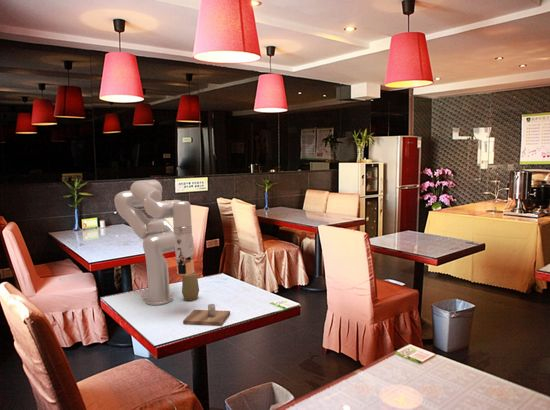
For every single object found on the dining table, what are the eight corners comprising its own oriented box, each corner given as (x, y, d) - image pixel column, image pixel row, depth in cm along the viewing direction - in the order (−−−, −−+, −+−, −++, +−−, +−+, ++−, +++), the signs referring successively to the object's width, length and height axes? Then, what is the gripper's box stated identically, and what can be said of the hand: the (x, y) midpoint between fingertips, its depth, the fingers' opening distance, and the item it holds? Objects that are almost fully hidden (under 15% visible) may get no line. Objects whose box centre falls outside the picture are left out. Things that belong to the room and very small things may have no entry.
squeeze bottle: (201, 296, 199) (199, 259, 197) (196, 301, 191) (195, 263, 189) (185, 295, 200) (183, 259, 198) (179, 301, 192) (177, 263, 190)
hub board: (183, 324, 166) (182, 309, 165) (194, 312, 178) (193, 299, 177) (221, 325, 163) (221, 311, 162) (230, 314, 175) (229, 300, 174)
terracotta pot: (175, 275, 174) (174, 262, 174) (181, 270, 181) (180, 258, 180) (190, 275, 173) (189, 262, 173) (196, 270, 180) (195, 258, 179)
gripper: (183, 233, 166) (186, 277, 168) (198, 226, 183) (201, 266, 185) (165, 234, 167) (168, 277, 169) (182, 227, 184) (185, 266, 186)
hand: (185, 271), depth 177 cm, fingers closed on terracotta pot, 6 cm apart
